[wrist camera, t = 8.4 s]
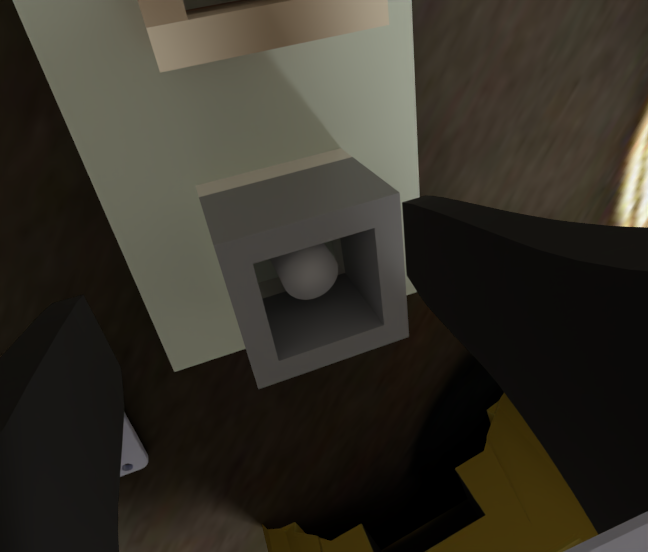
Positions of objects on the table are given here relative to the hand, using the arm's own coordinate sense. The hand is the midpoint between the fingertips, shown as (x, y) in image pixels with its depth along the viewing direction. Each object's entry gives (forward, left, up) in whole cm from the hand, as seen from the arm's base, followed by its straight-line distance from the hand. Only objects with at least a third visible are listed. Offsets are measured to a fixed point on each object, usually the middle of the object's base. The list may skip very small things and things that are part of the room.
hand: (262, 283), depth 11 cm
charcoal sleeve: (+2, -3, -8) cm, 9 cm away
